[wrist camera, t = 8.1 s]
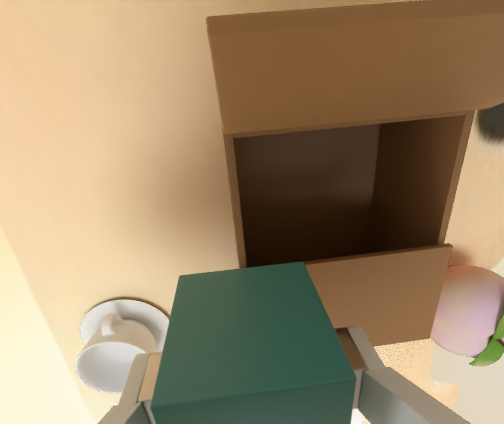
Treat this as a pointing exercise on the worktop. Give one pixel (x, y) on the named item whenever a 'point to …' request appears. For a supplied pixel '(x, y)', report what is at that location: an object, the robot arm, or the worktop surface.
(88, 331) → the teacup
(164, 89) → the worktop surface
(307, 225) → the carton
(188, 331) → the block
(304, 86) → the flap
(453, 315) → the decorative fruit
